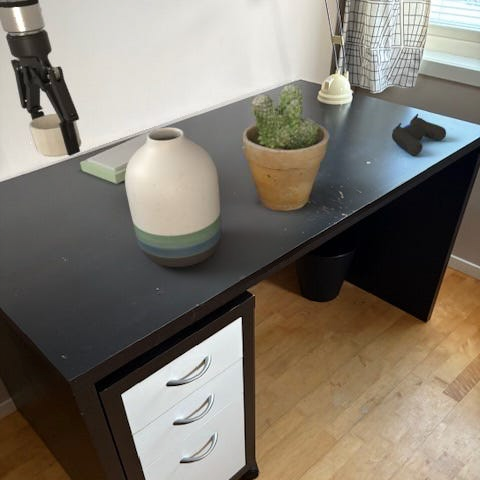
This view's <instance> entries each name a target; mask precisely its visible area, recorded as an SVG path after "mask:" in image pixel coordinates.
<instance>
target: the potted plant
mask: <svg viewBox="0 0 480 480" xmlns="http://www.w3.org/2000/svg"><path fill="white" fill-rule="evenodd" d="M303 99H304V97H303V96H302V89H301V87H299V86H297V85H296V84H291V83H289V84H287V85H284V86H283V88H282V90H281V91H280V94H279V100H278V103H277V104H276V105H274V103H275V101H274V100H273V99H272V98H270V94H265V93H259V94H257V96H256V97H254V98H253V100H252V102H251V105H250V108H251V111H252V113H253V115H252V116H253V117H254V119H255V121H256V122H255V123H254V124H251V125H249V126H247V127H246V128H245V129H244V131H243V132H242V141H243V143H242V144H243V146H244V149H243V154H244V157H245V158H246V159H247V163H248V168H249V170H250V174H251V178H252V181H253V183H254V186H255V189H256V193H257V194H258V199H259V201H260V203H261V204H262V206H264V207H265V208H267V209H269V210H272V211H276V212H277V211H279V212H280V211H281V212H289V211H294V210H299V209H301V208H302V207H304V206H305V205H306V204H307V203H308V201H309V199H310V197H311V192H312V190H313V186H314V183H315V181H316V179H317V176H318V173H319V170H320V166H321V163H322V161H323V160H324V159H325V155H326V152H327V147H328V142H329V138H330V133H329V132H328V130H327V129H326V128H325V127H324V126H323V125H320V124H318V123H317V122H316V121H314V119H312V118H311V117H303V118H302V115H303V109H304V107H302V106H303V104H304V103H303Z"/></svg>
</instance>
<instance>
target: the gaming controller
mask: <svg viewBox="0 0 480 480" xmlns="http://www.w3.org/2000/svg"><path fill="white" fill-rule="evenodd" d="M418 116H419V113H417V114H416V115H414V116H413V118H412V119H411V120H410V122H409V123H408V124H406V125H404V126H403V127H402V122H399V123H398V125H396V127H395V128H393V130H392V132H391V139H392V140H393V142H394V143H395V144H396V145H397V146H398V148H401V149H402V150H403V151H405V152H406V153H408V155H411V156H413V157H414V156H418V155H419V154H421V153H422V150H423V143H421V141H420V140H422V139H423V138H427V139H430V140H433V141H437V142H440V141H442V140H444V139H445V138H446V136H447V130H446V129H445V127H443V126H441V125H438V124H435V123H432V122H429V121H427V120H425V119H424V118H422V117H418Z"/></svg>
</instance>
